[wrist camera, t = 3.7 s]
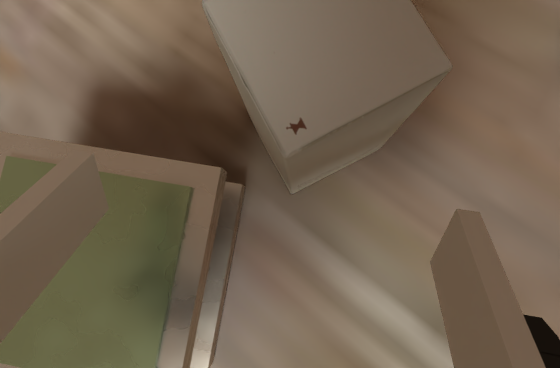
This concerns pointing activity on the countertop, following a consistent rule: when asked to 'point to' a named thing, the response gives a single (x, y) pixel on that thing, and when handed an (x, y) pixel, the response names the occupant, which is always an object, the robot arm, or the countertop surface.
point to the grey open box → (129, 263)
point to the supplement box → (326, 76)
